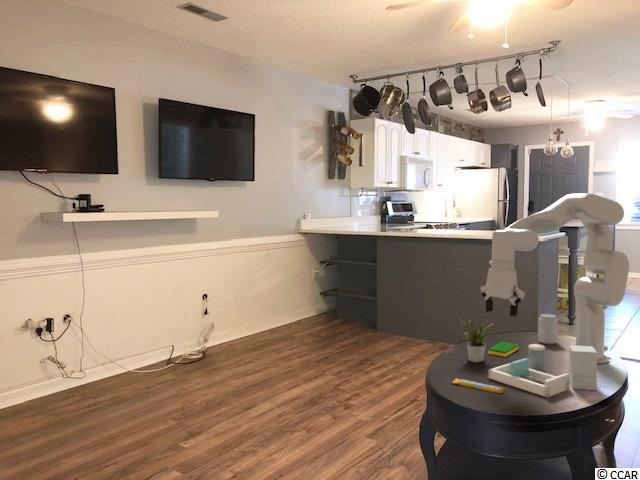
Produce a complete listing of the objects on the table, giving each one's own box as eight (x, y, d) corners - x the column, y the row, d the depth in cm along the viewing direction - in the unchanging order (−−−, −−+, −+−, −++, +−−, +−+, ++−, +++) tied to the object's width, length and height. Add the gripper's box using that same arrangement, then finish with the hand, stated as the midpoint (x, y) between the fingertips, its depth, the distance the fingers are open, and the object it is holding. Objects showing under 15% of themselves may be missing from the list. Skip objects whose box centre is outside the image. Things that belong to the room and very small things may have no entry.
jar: (534, 367, 189) (534, 343, 188) (547, 371, 184) (548, 346, 184) (525, 370, 186) (525, 345, 185) (538, 374, 181) (539, 349, 181)
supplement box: (592, 383, 171) (593, 346, 170) (596, 391, 164) (597, 352, 163) (568, 381, 174) (569, 344, 173) (571, 388, 167) (572, 350, 166)
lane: (510, 371, 185) (510, 357, 184) (569, 389, 167) (569, 373, 166) (488, 378, 178) (488, 363, 178) (547, 397, 160) (547, 381, 160)
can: (540, 344, 218) (541, 316, 217) (536, 339, 226) (536, 312, 225) (559, 345, 217) (560, 317, 216) (554, 340, 224) (555, 313, 224)
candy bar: (506, 392, 166) (506, 386, 166) (502, 396, 163) (502, 390, 163) (456, 381, 176) (456, 376, 176) (451, 385, 173) (451, 379, 173)
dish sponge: (518, 350, 212) (518, 344, 212) (505, 358, 202) (505, 352, 202) (501, 347, 217) (501, 341, 217) (488, 354, 207) (488, 348, 206)
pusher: (525, 377, 178) (525, 358, 177) (539, 381, 173) (539, 361, 173) (510, 382, 173) (510, 362, 172) (524, 386, 169) (524, 366, 168)
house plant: (446, 360, 199) (446, 318, 198) (463, 352, 209) (464, 312, 208) (481, 368, 189) (482, 324, 188) (497, 359, 199) (498, 317, 198)
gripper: (475, 263, 185) (473, 310, 186) (519, 268, 171) (517, 319, 172) (488, 262, 189) (486, 308, 190) (531, 267, 176) (529, 316, 177)
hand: (501, 313), depth 181 cm, fingers open, 9 cm apart
